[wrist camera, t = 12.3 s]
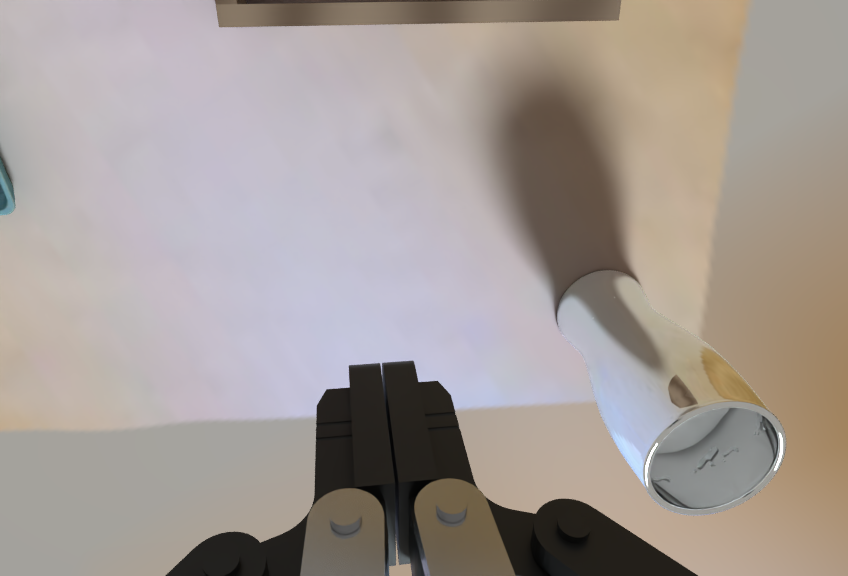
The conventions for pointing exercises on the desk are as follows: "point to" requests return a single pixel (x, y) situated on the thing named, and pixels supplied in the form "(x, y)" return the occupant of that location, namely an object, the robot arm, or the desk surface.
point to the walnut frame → (413, 12)
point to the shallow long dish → (6, 192)
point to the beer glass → (670, 399)
